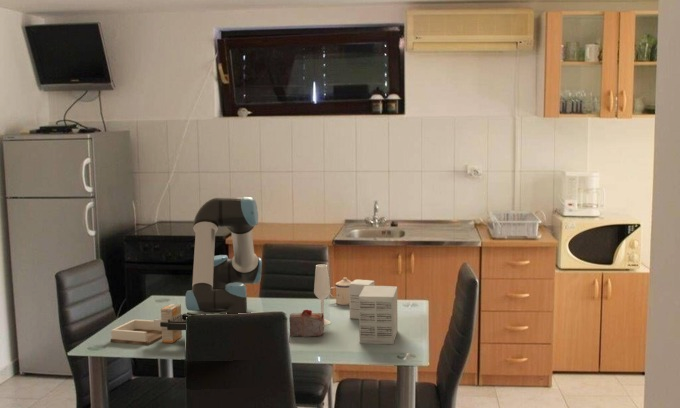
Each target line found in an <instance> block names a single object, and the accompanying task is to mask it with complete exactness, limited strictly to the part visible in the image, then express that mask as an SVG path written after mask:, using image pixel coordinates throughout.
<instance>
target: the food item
mask: <svg viewBox="0 0 680 408" xmlns="http://www.w3.org/2000/svg"><path fill="white" fill-rule="evenodd" d="M324 318H325V314H324V315H323V313H321V312H320V313H319V312H318V313H317V312H314V313H313V311H312V310H310V309H303V310H302V312H291V313H290V314H289V319H288V320H289V337H303V338H309V337H320V336H321V335H323V333H324V332H325V325H324Z"/></svg>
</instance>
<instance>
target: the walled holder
mask: <svg viewBox="0 0 680 408" xmlns="http://www.w3.org/2000/svg"><path fill="white" fill-rule="evenodd" d="M110 331H111V332H110V334H111V339H110V342H111V343H120V344H121V343H122V344H133V345H134V344H135V345H145V346H150V345H152V344H155V343H156V342H158V341H159V340H162V327H154V320H152V319H151V320H150V319H149V320H148V319H139V318H138V319H132V320H130V321H127V322H126V323H123V324H121V325H118V326H117V327H115V328H113V329H111V330H110Z"/></svg>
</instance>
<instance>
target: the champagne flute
mask: <svg viewBox="0 0 680 408" xmlns="http://www.w3.org/2000/svg"><path fill="white" fill-rule="evenodd" d="M313 288H314V289H313V293H314V295H315V297H317V299H319V300H320V313H323V315H324V316H325V302H324V300H326V299H327V298H328V297H329V296H330V288H331V285H330V277H329V270H328V264H323V263H321V264H316V265H315V272H314V286H313ZM330 324H331V320H328V319H326V318H325V317H324V326H327V325H330Z"/></svg>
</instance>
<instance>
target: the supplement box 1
mask: <svg viewBox="0 0 680 408" xmlns="http://www.w3.org/2000/svg"><path fill="white" fill-rule="evenodd" d="M181 314H182V305H181V304H180V303H169V304H168V305H166V306H164V307H163V308H161V309H160V320H169V319H170V321H181ZM182 337H183V330H167V328H164V327H162V339H161V341H162V342H161V343H169V344H170V343H171V344H173V343H175V342H176V341H177V340H179V339H180V338H182Z"/></svg>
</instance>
